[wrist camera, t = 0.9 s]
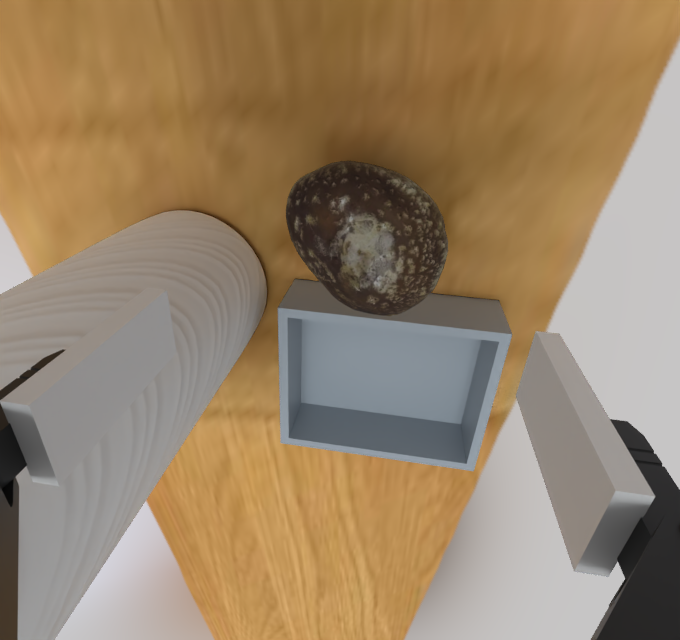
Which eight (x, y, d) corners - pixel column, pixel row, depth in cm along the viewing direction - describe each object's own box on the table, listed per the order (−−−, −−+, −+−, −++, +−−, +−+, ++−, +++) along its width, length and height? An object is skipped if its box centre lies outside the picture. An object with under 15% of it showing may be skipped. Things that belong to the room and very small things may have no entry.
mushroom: (451, 225, 36) (473, 305, 23) (357, 261, 39) (329, 352, 26) (410, 111, 33) (409, 131, 20) (310, 160, 36) (250, 206, 23)
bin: (295, 278, 41) (277, 307, 36) (498, 300, 39) (512, 334, 34) (295, 403, 48) (280, 443, 43) (466, 427, 46) (473, 471, 41)
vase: (245, 192, 38) (-203, 491, 10) (287, 335, 44) (82, 755, 17) (104, 220, 41) (-525, 503, 13) (163, 349, 47) (-183, 720, 20)
